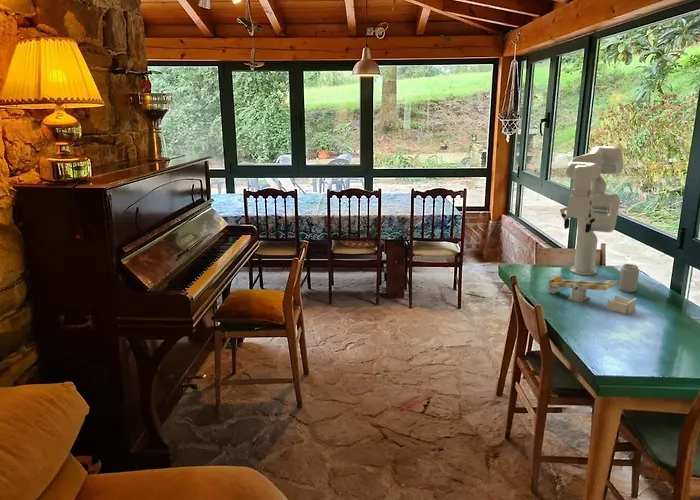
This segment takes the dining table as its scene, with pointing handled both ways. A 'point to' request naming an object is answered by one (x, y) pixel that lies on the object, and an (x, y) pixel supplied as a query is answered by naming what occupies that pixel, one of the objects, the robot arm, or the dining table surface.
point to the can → (628, 278)
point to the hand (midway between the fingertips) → (576, 230)
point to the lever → (584, 284)
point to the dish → (622, 305)
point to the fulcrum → (577, 293)
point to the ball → (557, 279)
